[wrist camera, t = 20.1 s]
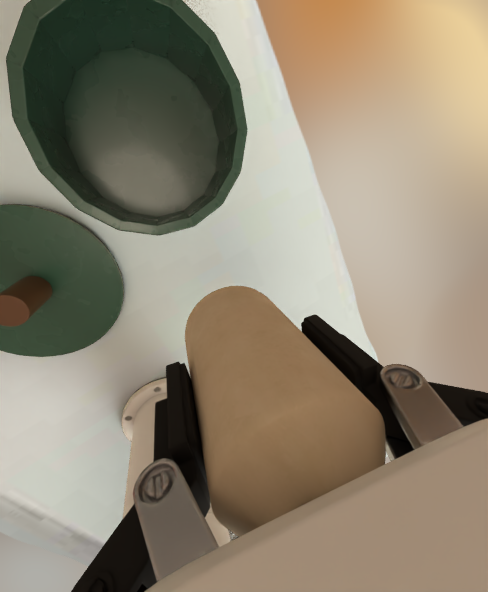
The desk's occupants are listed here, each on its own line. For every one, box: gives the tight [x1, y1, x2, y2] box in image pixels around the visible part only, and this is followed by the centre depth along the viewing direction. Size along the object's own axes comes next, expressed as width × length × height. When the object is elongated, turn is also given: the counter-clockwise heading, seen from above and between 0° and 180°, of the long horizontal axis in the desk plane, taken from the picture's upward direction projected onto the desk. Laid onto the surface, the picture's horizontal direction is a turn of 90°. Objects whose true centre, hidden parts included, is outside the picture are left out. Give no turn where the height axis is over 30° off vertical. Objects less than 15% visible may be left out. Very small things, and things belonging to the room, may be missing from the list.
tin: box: [6, 0, 247, 235], centre depth 20 cm, size 15×15×8 cm
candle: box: [185, 286, 386, 537], centre depth 10 cm, size 6×6×10 cm
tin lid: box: [0, 204, 124, 357], centre depth 23 cm, size 16×16×6 cm
